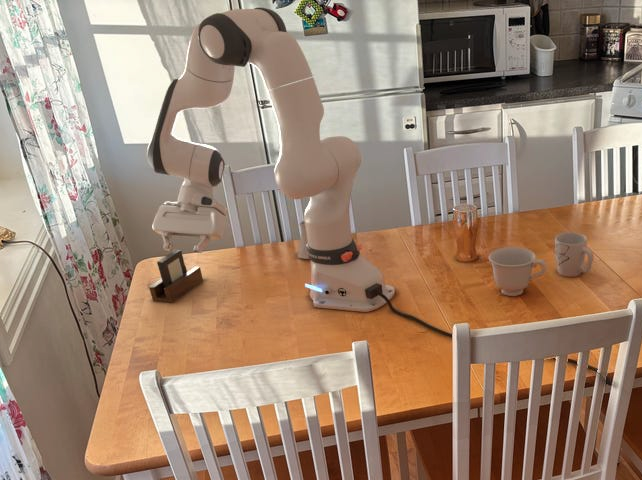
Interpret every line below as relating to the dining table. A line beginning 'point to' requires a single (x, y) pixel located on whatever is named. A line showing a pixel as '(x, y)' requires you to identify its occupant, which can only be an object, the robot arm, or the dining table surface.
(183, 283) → the holder
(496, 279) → the teacup
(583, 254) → the mug
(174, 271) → the frame
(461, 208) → the beer glass
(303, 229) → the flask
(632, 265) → the dining table surface
